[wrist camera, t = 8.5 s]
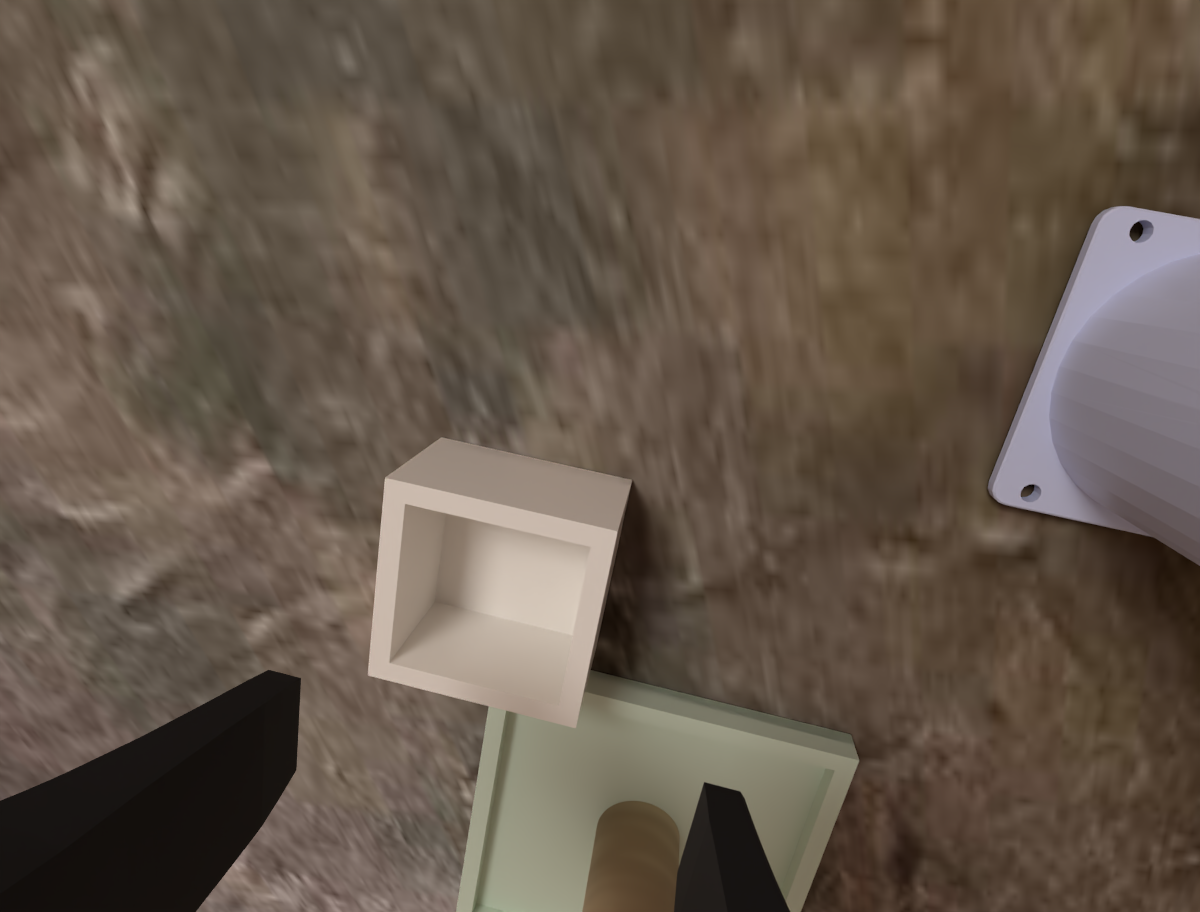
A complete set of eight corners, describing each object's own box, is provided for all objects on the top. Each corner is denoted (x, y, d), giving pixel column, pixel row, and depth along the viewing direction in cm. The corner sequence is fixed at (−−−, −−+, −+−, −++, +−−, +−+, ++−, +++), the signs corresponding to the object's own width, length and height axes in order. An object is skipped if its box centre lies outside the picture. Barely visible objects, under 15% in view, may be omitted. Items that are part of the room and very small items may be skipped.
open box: (632, 479, 20) (617, 531, 17) (596, 648, 22) (575, 728, 19) (441, 437, 21) (384, 477, 17) (422, 605, 23) (367, 675, 19)
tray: (850, 734, 22) (859, 760, 21) (758, 980, 26) (761, 1014, 25) (504, 648, 23) (494, 669, 22) (463, 898, 27) (453, 927, 25)
